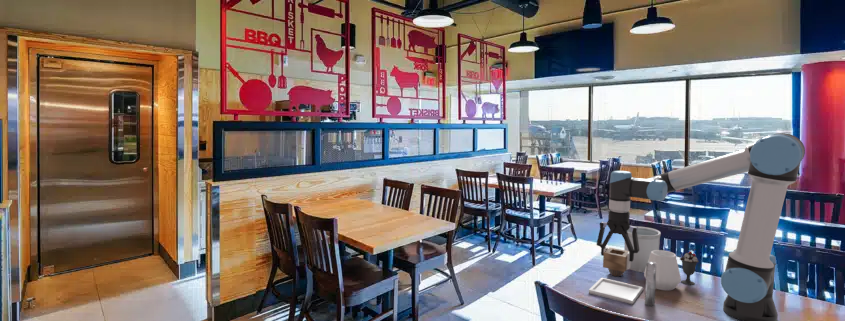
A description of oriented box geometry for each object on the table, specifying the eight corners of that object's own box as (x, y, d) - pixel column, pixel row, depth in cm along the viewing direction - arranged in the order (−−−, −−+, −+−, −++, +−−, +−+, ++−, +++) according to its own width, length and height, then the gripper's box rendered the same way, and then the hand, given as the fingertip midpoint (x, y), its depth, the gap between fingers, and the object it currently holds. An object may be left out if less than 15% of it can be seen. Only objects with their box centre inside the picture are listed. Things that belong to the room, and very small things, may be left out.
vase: (604, 273, 187) (604, 254, 186) (615, 270, 190) (615, 252, 189) (617, 278, 181) (617, 259, 180) (628, 276, 184) (629, 256, 183)
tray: (642, 290, 169) (642, 286, 168) (632, 304, 156) (632, 300, 156) (601, 280, 179) (601, 277, 179) (588, 293, 167) (588, 289, 166)
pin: (655, 304, 156) (657, 262, 155) (653, 307, 154) (655, 265, 152) (645, 301, 158) (647, 261, 157) (643, 304, 156) (645, 263, 154)
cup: (636, 283, 176) (637, 251, 174) (656, 277, 182) (658, 246, 180) (667, 295, 164) (669, 261, 162) (687, 288, 170) (689, 255, 169)
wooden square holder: (630, 266, 167) (630, 251, 166) (624, 272, 161) (625, 257, 160) (608, 261, 172) (609, 247, 171) (602, 267, 166) (603, 252, 165)
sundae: (701, 284, 174) (703, 249, 172) (690, 287, 171) (692, 251, 170) (686, 278, 180) (688, 245, 178) (675, 281, 177) (677, 247, 176)
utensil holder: (645, 275, 184) (647, 237, 182) (615, 265, 197) (617, 229, 195) (665, 269, 191) (667, 232, 189) (635, 259, 204) (637, 224, 202)
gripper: (650, 212, 160) (647, 269, 163) (594, 205, 173) (592, 257, 176) (646, 216, 154) (643, 275, 157) (588, 208, 168) (586, 262, 170)
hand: (616, 266), depth 166 cm, fingers closed on wooden square holder, 8 cm apart
